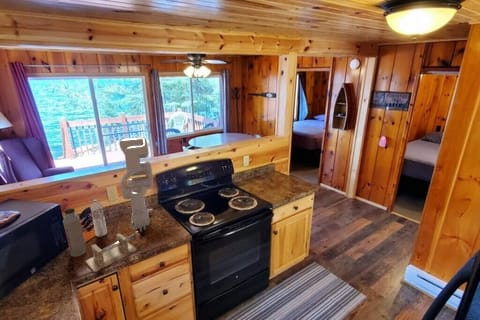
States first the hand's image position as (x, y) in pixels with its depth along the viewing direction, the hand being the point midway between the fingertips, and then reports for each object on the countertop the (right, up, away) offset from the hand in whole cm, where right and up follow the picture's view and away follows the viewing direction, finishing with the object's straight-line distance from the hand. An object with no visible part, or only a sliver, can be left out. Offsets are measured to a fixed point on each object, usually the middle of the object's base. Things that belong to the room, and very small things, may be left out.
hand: (142, 235), depth 162 cm
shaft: (-9, -3, -11) cm, 15 cm away
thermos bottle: (-34, -7, -10) cm, 37 cm away
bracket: (-13, -8, -14) cm, 20 cm away
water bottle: (-31, -2, +8) cm, 32 cm away
